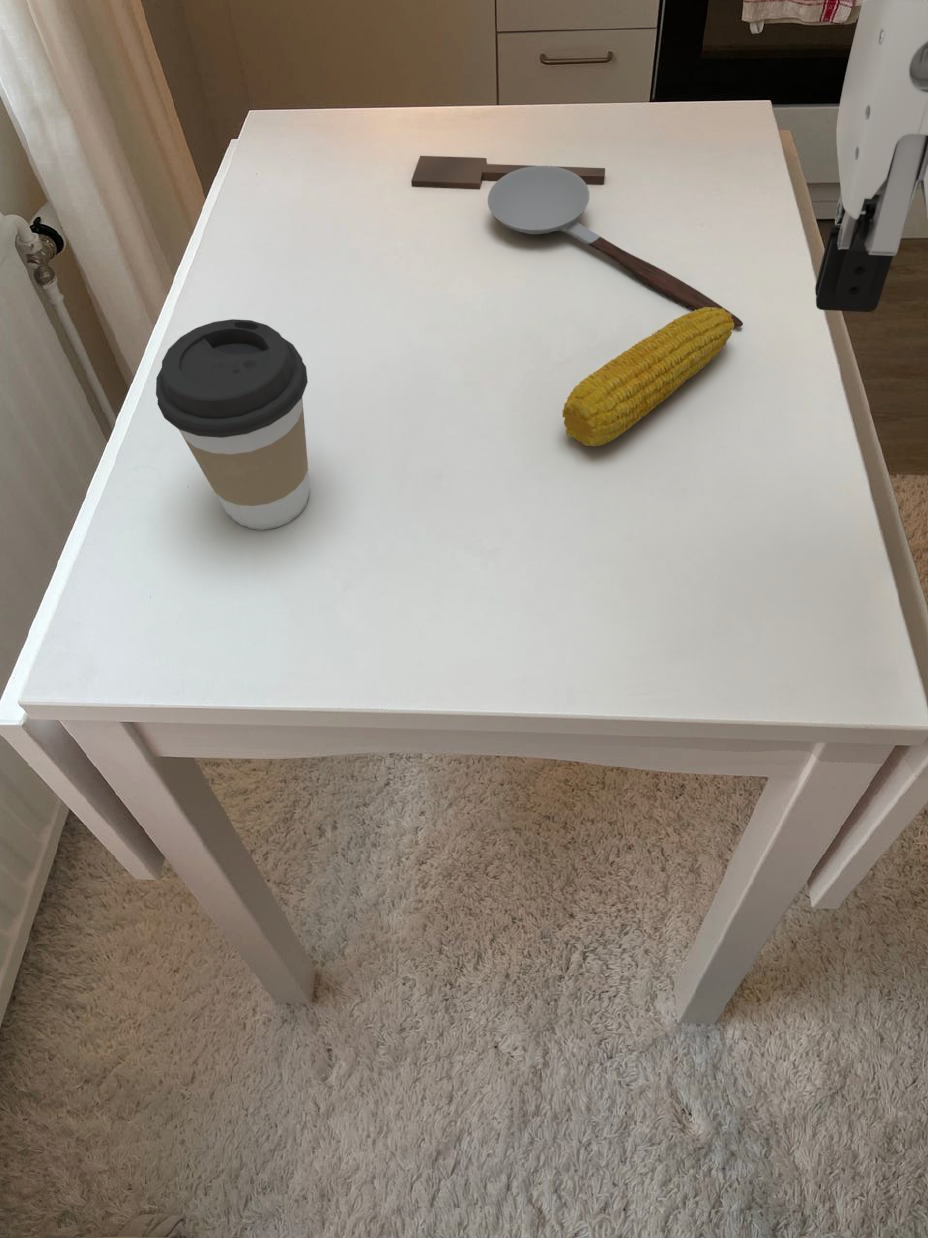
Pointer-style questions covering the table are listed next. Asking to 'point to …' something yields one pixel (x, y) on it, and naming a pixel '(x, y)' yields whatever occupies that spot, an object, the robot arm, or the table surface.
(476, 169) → the spatula
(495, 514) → the table surface
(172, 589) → the table surface
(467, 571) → the table surface
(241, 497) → the coffee cup
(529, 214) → the spoon
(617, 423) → the food
